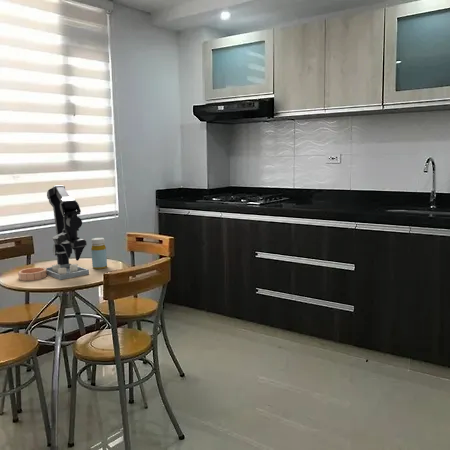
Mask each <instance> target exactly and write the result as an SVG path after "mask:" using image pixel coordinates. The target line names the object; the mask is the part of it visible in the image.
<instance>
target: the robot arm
mask: <svg viewBox="0 0 450 450" xmlns="http://www.w3.org/2000/svg"><path fill="white" fill-rule="evenodd" d="M46 198H47V200H48V203H49V204H50V206H51V207H52V209H53V217H54V225H55V231H56V233H55V234H56V235H54V236H52V240H53V246H52V255H54V256H55V257H56V261H57V263H56V264H59V265H65V264H70V258H71V255H72V254H73V251H74V257H75V261H76V262H77V261H79V260H80V258H81V256H82V253H83V251H84V249H85V247H86V246H87V241H86V239H83V238H80V236H78V234H79V233H78V232H79V231H80V228H81V227H82V225H83V220H82V219H81V217H79V216H78V215H81V208H80V205H79V203H78V201H77V200H76V199H75V198H74V197H71V196H70V195H69V193H68V192H67V190H66V186H65V185H63V184H62V185H60V184H59V185H54V186H53V187H52V188H49V189H48V190H47V192H46Z"/></svg>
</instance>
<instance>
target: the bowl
mask: <svg viewBox="0 0 450 450" xmlns="http://www.w3.org/2000/svg"><path fill="white" fill-rule="evenodd" d="M46 268H47V267H37V266H36V267H28V268H23V269H21V270H19V271H18V273H17V274H18V279H19V280H20V281H35V280H37V281H38V280H41V279H43V278H46V277H47V276H48V275H47V269H46Z"/></svg>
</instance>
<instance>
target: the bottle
mask: <svg viewBox="0 0 450 450" xmlns="http://www.w3.org/2000/svg"><path fill="white" fill-rule="evenodd" d="M105 241H106V239H105V238H104V237H94V238H91V249H90V250H91V251H90V252H91V262H92V263H91V264H92V265H91V266H92V268H93V269H94V270H103V269H106V268H108V260H107V257H108V256H107V247H106V243H105Z"/></svg>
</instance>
